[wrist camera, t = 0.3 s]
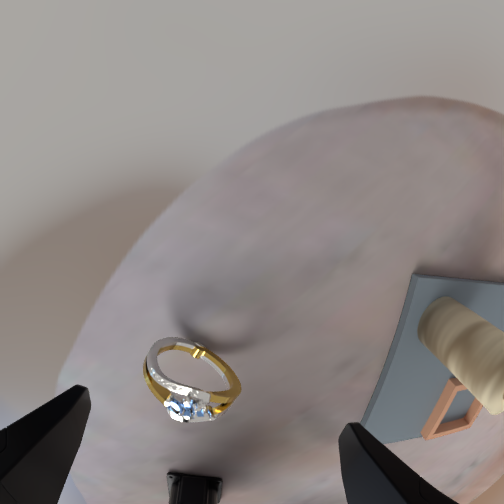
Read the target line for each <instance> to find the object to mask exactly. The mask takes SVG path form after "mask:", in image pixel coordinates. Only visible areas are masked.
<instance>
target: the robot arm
mask: <svg viewBox="0 0 504 504" xmlns="http://www.w3.org/2000/svg"><path fill="white" fill-rule="evenodd" d="M90 410H91V400H90V395H89V390H88V388H87V387H84V386H81V385H75V386H73V387H71V388H70V389H68V390H67V391H65V392H63V393H62V394H60V395H58V396H57V397H55V398H54V399H52V400H50V401H49V402H47V403H45V404H44V405H42V406H40V407H39V408H37V409H35V410H34V411H32V412H30V413H29V414H27V415H25V416H24V417H22V418H21V419H19V420H17V421H16V422H14V423H12V424H10V425H9V426H7V428H4V429H2V430H0V504H57V503H58V500H59V498H60V495H61V492H62V490H63V487H64V484H65V482H66V479H67V476H68V474H69V471H70V469H71V466H72V464H73V461H74V459H75V456H76V454H77V452H78V449H79V447H80V444H81V441H82V437H83V434H84V430H85V427H86V423H87V420H88V416H89V413H90ZM338 442H339V452H340V463H341V473H342V479H343V484H344V489H345V493H346V498H347V503H348V504H459V503H457V502H455V501H454V500H452V499H451V498H449V497H448V496H446V495H444V494H443V493H441V492H440V491H439V490H437V489H436V488H434V487H433V486H432V485H430V484H429V483H428V482H427V481H425V480H424V479H423V478H422V477H420V476H419V475H418V474H417V473H416V472H415V471H413V470H412V469H411V468H410V467H409V466H407V465H406V464H405V463H404V462H403V461H402V460H400V459H399V458H398V457H397V456H396V455H395V454H394V453H392V452H391V451H390V450H389V449H388V448H387V447H386V446H384V445H383V444H382V443H381V442H380V441H379V440H378V439H377V438H375V437H374V436H373V435H372V434H371V433H370V432H369V431H368V430H367V429H365V428H364V427H363V426H362V425H361V424H360V423H357V422H354V423H348V424H347V425H346V426H345V428H344V430H343V431H342V433H341V435H340V436H339V441H338ZM167 483H168V490H169V497H170V498H169V504H217V503H219V502H220V495H221V487H222V479H220V478H211V477H201V476H192V475H184V474H177V473H167Z"/></svg>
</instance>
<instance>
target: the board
mask: <svg viewBox="0 0 504 504" xmlns="http://www.w3.org/2000/svg"><path fill="white" fill-rule="evenodd" d="M445 296H448V297H451V298H453V299H455V300H456V301H458V302H459V303H461V304H462V305H464V306H465V307H467V308H469V309H470V310H472V311H473V312H475V313H476V314H478V315H479V316H481V317H482V318H484V319H485V320H487V321H488V322H489V323H491V324H492V325H494V326H495V327H497V328H498V329H500V330H501V331H503V332H504V283H500V282H490V281H480V280H470V279H460V278H450V277H440V276H430V275H420V274H412V277H411V281H410V285H409V289H408V292H407V296H406V300H405V303H404V307H403V310H402V314H401V317H400V320H399V324H398V327H397V330H396V333H395V336H394V339H393V342H392V345H391V348H390V351H389V354H388V357H387V359H386V362H385V365H384V368H383V370H382V373H381V376H380V378H379V381H378V383H377V386H376V388H375V391H374V393H373V396H372V398H371V400H370V403H369V405H368V407H367V410H366V412H365V414H364V416H363V419H362V421H361V423H360V424H361V425H362V426H363V427H364V428H365V429H367V430H368V431H369V432H370V433H371V434H372V435H373V436H374V437H375V438H377V439H378V440H379V441H380V442H381V443H382V444H387V443H393V442H398V441H404V440H409V439H413V438H418V437H422V436H423V438H424V439H425V440H429V439H433V438H437V437H441V436H444V435H448V434H451V433H455V432H458V431H461V430H464V429H467V428H470V427H471V425H472V424H473V422H474V420H475V419H476V417H477V415H478V414H479V412H480V410H481V409H482V407H483V405H482V404H481V403H480V402H479V401H478V400H477V398H476V397H475V396H474V395H473V394H472V393H471V392H470V391H469V390H468V389H467V388H466V387H465V386H464V385H463V384H462V383H461V382H460V381H459V380H458V379H457V378H456V377H455V376H454V375H453V374H452V373H451V372H450V371H449V370H448V368H447V367H446V366H445V365H444V364H443V363H442V362H441V361H440V360H439V359H438V358H437V357H436V356H435V355H434V354H433V353H432V352H431V351H429V350H428V349H427V348H426V347H425V346H424V345H423V344H422V343H421V342H420V340H419V338H418V334H417V329H418V324H419V320H420V318H421V316H422V314H423V312H424V311H425V309H426V308H427V307H428V306H429V305H430V304H431V303H432V302H433V301H435V300H436V299H438V298H441V297H445Z"/></svg>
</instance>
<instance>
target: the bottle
mask: <svg viewBox="0 0 504 504" xmlns="http://www.w3.org/2000/svg"><path fill="white" fill-rule="evenodd" d="M417 334H418V338H419V340H420V342H421V343H422V344H423V345H424V346H425V347H426V348H427V349H428V350H429V351H431V352H432V353H433V354H434V355H435V356H436V357H437V358H438V359H439V360H440V361H441V362H442V363H443V364H444V365H445V366H446V367H447V368H448V370H449V371H450V372H451V373H452V374H453V375H454V376H455V377H456V378H457V379H458V380H459V381H460V382H461V383H462V384H463V385H464V386H465V387H466V388H467V389H468V390H469V391H470V392H471V393H472V394H473V395H474V396H475V397H476V398H477V400H478V401H479V402H480V403H481V404H482V405H483V406H484V407H485V408H486V409H487V410H488V411H489V412H490V414H492V415H497V414H500V413H502V412H504V332H503V331H501V330H500V329H498V328H497V327H495V326H494V325H492V324H491V323H489V322H488V321H487V320H485V319H484V318H482V317H481V316H479V315H478V314H476V313H475V312H473V311H472V310H470V309H469V308H467V307H465V306H464V305H462V304H461V303H459V302H458V301H456V300H455V299H453V298H451V297H448V296H445V297H441V298H438V299H436V300H435V301H433V302H432V303H431V304H430V305H429V306H428V307H427V308H426V309H425V311H424V312H423V314H422V316H421V318H420V320H419V324H418V329H417Z"/></svg>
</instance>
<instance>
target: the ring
mask: <svg viewBox="0 0 504 504" xmlns="http://www.w3.org/2000/svg"><path fill="white" fill-rule="evenodd" d="M167 350H182V351H186V352H189V353H190V354H191V355H192V356H193V357H195V358H197V359H199V358H201V359H203V360H204V361H206V362H207V363H208V364H210V365H211V366H212V367H213V368H214V369H215V370H216V371H217V372H218V373H219V374H220V375H221V377H222V378H223V380H224V382H225V384H226V387H227V390H226V391H219V392H207V391H205V392H204V391H203V390H201V389H199V388H195V387H191V386H188V385H184V384H181V383H178V382H176V381H174V380H172V379H170V378H168V377H167V376H166V375H164V374H163V372H162V371H161V370H160V368H159V365H158V361H157V356H158V355H159V354H161V353H162V352H164V351H167ZM143 373H144V378H145V381H146V383H147V385H148V387H149V389H150V390H151V392H152V393H153V394H154V396H155V397H156V398H157V399H158V400H159V401H160V402H161V403H162V404H163V405H165V406H166V410H167V412H168V414H169V415H170V416H171V417H172V418H174V419H176V420H178V421H182V422H193V423H194V422H203V421H209V420H211V421H213V420H215V419H216V418H218V417H220V416H222V415H223V414H225V413H226V412H227V411H228V409H229V408H230V407H231V406H232V404H233V403H234V402H235V400H236V398H237V397H238V396H239V394H240V393H241V384H240V381H239V379H238V377H237V376H236V374H235V373H234V371H233V370H232V369H231V368H230V367H229V366H228V365H227V364H226V363H225V362H224V361H223V360H222V359H221V358H220V357H218V356H217V355H216V354H214V353H213V352H211V351H210V350H208V349H207V348H205V346H204V345H203V344H201V343H199V342H196V343H195V342H193V341H190V340H187V339H183V338H178V337H167V338H162V339H160V340H158V341H156V342H155V343H154V344H153V345H152V347H151V348H150V350H149V352H148V354H147V356H146V358H145V360H144V364H143ZM168 389H169V390H171V391H174V392H177V393H180V394H183V395H176V394H175V393H172V392H170V391H169V390H168ZM210 402H215V403H222V404H221V405H219V406H217V407H215V408H212V407H211V406H209V405H208V406H206V404H209V403H210Z"/></svg>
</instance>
